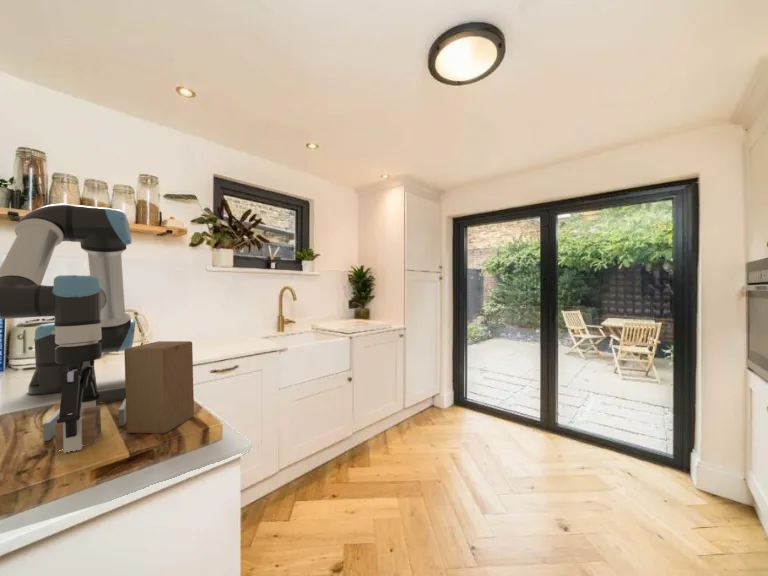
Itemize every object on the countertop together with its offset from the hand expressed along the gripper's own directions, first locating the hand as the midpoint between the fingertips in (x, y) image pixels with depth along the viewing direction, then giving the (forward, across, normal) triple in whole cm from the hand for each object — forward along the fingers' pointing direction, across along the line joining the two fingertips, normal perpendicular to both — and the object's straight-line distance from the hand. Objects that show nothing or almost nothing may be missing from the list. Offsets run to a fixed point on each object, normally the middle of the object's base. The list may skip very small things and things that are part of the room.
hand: (81, 438), depth 71 cm
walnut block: (0, 0, 0) cm, 0 cm away
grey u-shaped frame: (0, -17, 0) cm, 17 cm away
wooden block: (0, +1, +15) cm, 15 cm away
